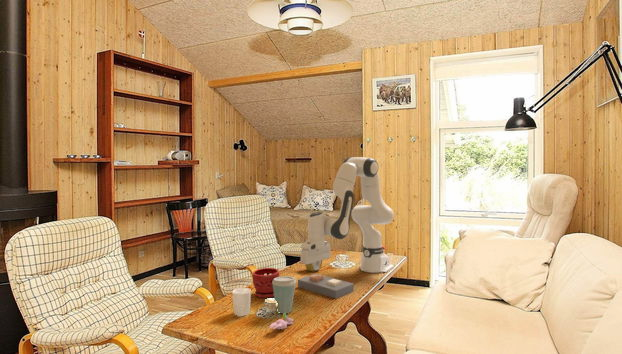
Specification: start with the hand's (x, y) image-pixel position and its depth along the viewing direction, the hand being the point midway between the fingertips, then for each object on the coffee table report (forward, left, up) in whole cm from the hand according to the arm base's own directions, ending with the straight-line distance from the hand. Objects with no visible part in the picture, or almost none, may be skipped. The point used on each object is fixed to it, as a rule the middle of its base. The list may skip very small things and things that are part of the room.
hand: (316, 269), depth 198 cm
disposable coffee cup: (+34, +12, -9) cm, 37 cm away
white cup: (+48, 0, -9) cm, 49 cm away
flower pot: (-21, -22, -9) cm, 32 cm away
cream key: (0, +12, -7) cm, 14 cm away
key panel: (0, +6, -9) cm, 11 cm away
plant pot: (+26, -10, -9) cm, 29 cm away
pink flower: (+46, +24, -10) cm, 53 cm away
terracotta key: (0, 0, -7) cm, 7 cm away
